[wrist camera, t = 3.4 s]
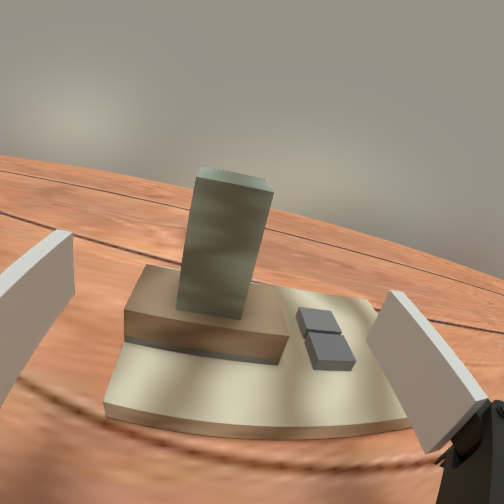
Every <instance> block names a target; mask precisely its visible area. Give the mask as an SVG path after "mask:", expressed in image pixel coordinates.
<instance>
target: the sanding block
mask: <svg viewBox="0 0 504 504" xmlns="http://www.w3.org/2000/svg"><path fill="white" fill-rule="evenodd" d="M273 194H274V192H273V190H272V189H271V187H270V186H269V185H268V183H267V182H266V180H265V179H262V178H257V177H253V176H248V175H243V174H238V173H234V172H228V171H224V170H219V169H213V168H208V167H202V168H201V170H200V172H199V173H198V175H197V176H196V181H195V187H194V192H193V197H192V203H191V208H190V214H189V220H188V226H187V232H186V238H185V245H184V251H183V258H182V265H181V271H180V270H175V269H169V268H164V267H159V266H154V265H148V264H146V266H145V268H144V270H143V272H142V274H141V276H140V278H139V280H138V282H137V284H136V286H135V288H134V290H133V292H132V294H131V296H130V298H129V300H128V302H127V304H126V306H125V308H124V339H125V342H128V343H132V344H137V345H141V346H146V347H151V348H156V349H161V350H166V351H172V352H177V353H183V354H189V355H195V356H202V357H208V358H215V359H223V360H230V361H238V362H247V363H256V364H266V365H277V366H278V364H279V362H280V359H281V357H282V354H283V352H284V349H285V347H286V344H287V342H288V339H289V337H290V335H289V332H288V328H287V325H286V321H285V318H284V314H283V311H282V307H281V304H280V301H279V297H278V294H277V290H276V287H273V286H267V285H261V284H255V283H250V282H251V279H252V275H253V271H254V267H255V263H256V259H257V256H258V252H259V248H260V244H261V240H262V237H263V233H264V229H265V225H266V221H267V217H268V214H269V210H270V206H271V202H272V198H273Z"/></svg>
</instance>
